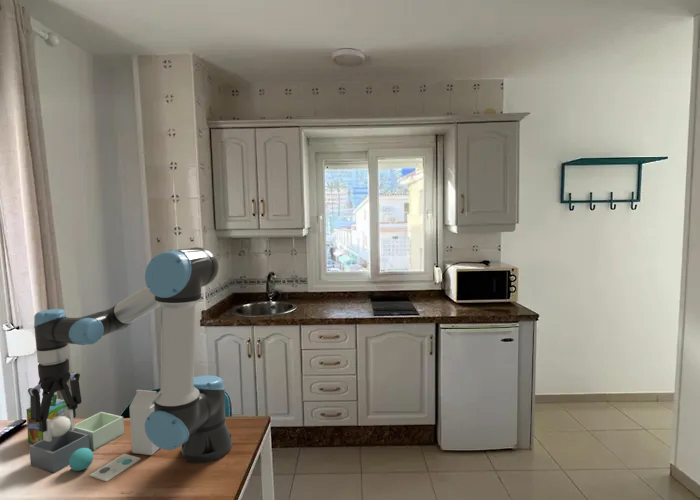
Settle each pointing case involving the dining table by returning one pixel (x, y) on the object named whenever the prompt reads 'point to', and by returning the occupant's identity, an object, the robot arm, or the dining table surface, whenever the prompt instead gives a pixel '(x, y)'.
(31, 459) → the grey storage bin
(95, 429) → the pale green tray
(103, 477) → the card
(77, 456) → the ball teal
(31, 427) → the chalk box
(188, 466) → the dining table surface
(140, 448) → the milk carton
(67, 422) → the ball white
